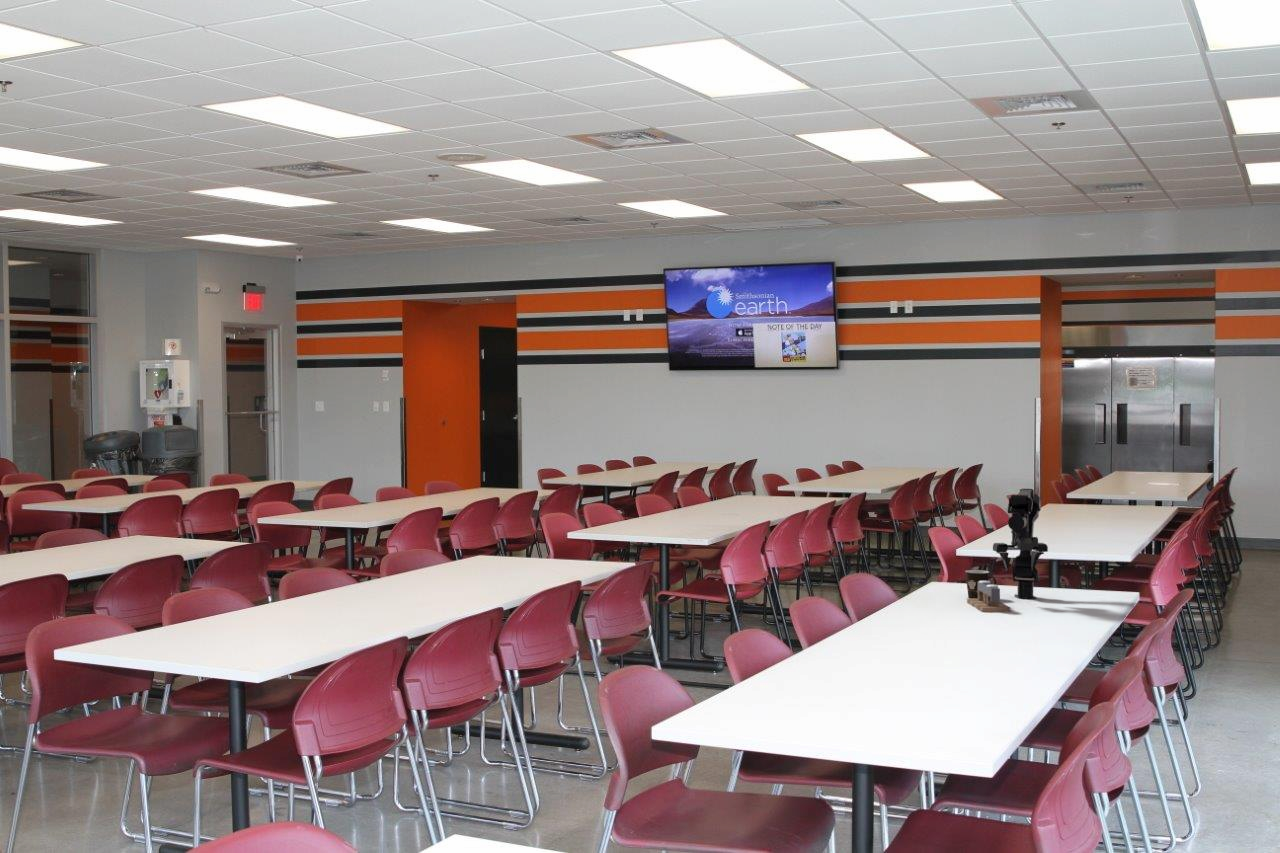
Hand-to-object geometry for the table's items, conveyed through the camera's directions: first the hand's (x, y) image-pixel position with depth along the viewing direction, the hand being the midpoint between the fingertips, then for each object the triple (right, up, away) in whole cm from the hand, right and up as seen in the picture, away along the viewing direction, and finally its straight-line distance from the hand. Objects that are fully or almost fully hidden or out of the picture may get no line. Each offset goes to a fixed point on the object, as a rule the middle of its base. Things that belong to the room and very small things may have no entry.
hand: (1020, 570), depth 448 cm
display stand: (-14, -12, -8) cm, 20 cm away
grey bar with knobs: (-14, -9, -8) cm, 18 cm away
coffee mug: (-12, -12, +11) cm, 20 cm away
